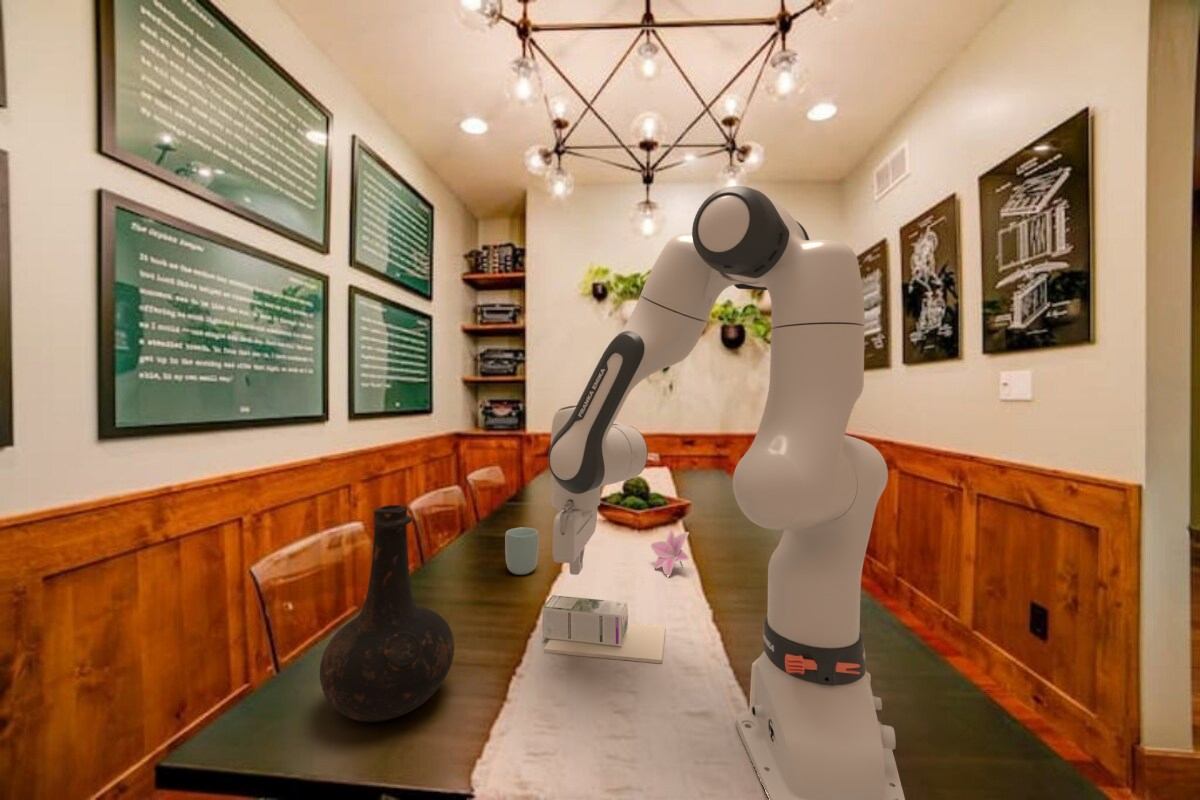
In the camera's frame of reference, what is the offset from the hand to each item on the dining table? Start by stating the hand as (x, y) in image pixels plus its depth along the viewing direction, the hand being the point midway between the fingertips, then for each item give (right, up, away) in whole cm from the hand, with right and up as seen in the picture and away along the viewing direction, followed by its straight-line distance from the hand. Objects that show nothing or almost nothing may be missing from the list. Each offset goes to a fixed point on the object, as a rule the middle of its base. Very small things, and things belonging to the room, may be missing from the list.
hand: (576, 571), depth 93 cm
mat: (+6, -12, -1) cm, 13 cm away
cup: (-15, -11, +33) cm, 38 cm away
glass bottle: (-26, -13, -18) cm, 34 cm away
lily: (+22, -12, +35) cm, 43 cm away
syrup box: (-6, -8, +1) cm, 10 cm away
